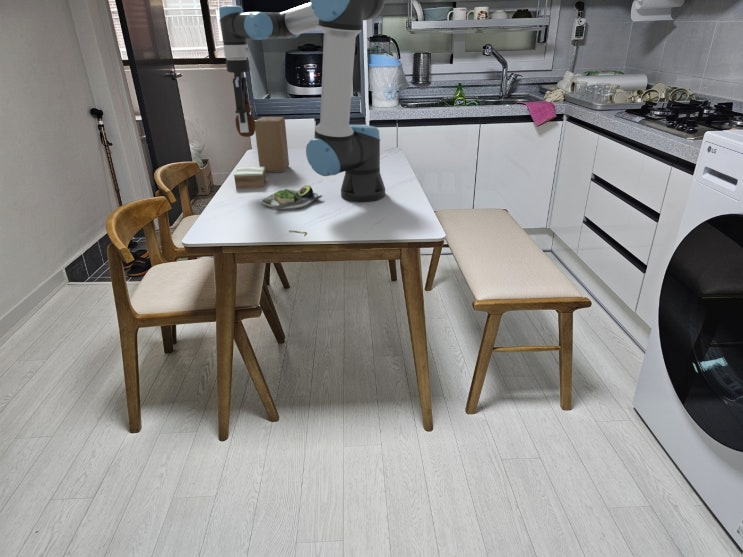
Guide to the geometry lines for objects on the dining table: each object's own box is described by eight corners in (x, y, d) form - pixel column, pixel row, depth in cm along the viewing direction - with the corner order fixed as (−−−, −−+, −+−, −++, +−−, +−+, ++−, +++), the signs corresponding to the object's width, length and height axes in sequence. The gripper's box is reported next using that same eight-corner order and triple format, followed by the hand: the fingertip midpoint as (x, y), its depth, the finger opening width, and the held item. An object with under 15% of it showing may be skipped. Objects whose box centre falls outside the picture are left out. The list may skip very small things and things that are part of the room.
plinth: (263, 187, 176) (262, 173, 174) (236, 188, 175) (233, 174, 173) (266, 179, 185) (265, 166, 182) (240, 180, 184) (238, 167, 182)
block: (289, 166, 202) (285, 116, 193) (283, 172, 193) (278, 120, 184) (266, 166, 203) (260, 116, 194) (259, 172, 194) (252, 120, 185)
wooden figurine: (234, 136, 172) (227, 91, 165) (245, 133, 176) (239, 89, 169) (248, 138, 169) (243, 92, 162) (259, 135, 173) (254, 90, 166)
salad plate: (296, 217, 148) (295, 202, 146) (249, 210, 155) (247, 196, 153) (327, 198, 164) (326, 185, 162) (283, 193, 171) (281, 180, 168)
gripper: (244, 60, 152) (253, 135, 163) (252, 57, 170) (260, 124, 180) (219, 61, 152) (230, 136, 163) (230, 57, 169) (239, 125, 180)
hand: (246, 130), depth 171 cm, fingers closed on wooden figurine, 7 cm apart
